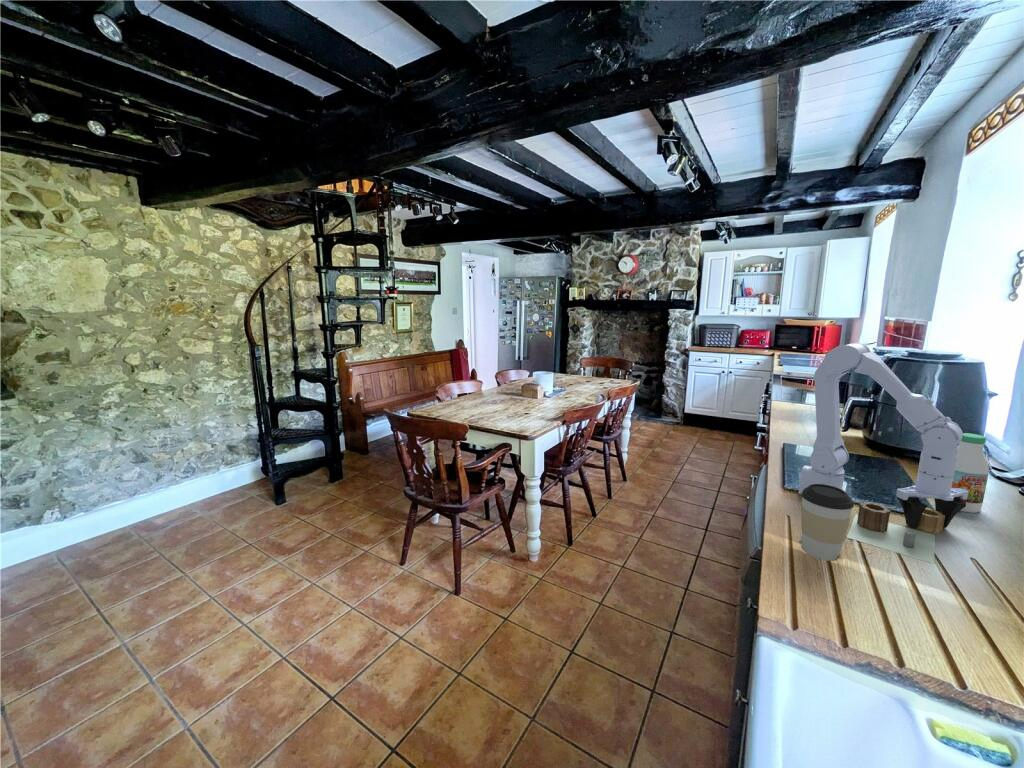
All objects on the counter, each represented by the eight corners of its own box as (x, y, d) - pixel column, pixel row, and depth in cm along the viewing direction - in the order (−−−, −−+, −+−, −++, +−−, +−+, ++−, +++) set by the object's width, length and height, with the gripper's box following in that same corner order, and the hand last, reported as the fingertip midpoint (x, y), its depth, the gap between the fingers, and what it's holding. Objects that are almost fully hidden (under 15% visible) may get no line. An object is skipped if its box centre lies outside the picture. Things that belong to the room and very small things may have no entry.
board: (846, 542, 93) (848, 525, 92) (855, 518, 103) (857, 503, 102) (933, 569, 83) (936, 550, 82) (933, 539, 93) (936, 523, 92)
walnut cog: (855, 526, 97) (858, 507, 96) (858, 518, 100) (861, 499, 99) (886, 535, 93) (889, 515, 92) (888, 526, 96) (891, 507, 96)
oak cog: (908, 531, 96) (912, 512, 95) (909, 523, 100) (913, 504, 99) (941, 540, 92) (945, 520, 91) (941, 531, 96) (944, 512, 95)
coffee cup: (838, 545, 91) (847, 483, 89) (852, 568, 83) (862, 501, 81) (791, 536, 95) (798, 477, 93) (800, 557, 87) (807, 493, 84)
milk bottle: (929, 500, 111) (942, 431, 107) (955, 499, 111) (968, 430, 108) (963, 514, 103) (977, 440, 100) (989, 512, 104) (1005, 439, 100)
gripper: (920, 480, 90) (910, 535, 92) (987, 479, 89) (975, 534, 92) (891, 467, 97) (883, 519, 99) (953, 467, 96) (943, 519, 99)
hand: (925, 526), depth 96 cm, fingers open, 6 cm apart
